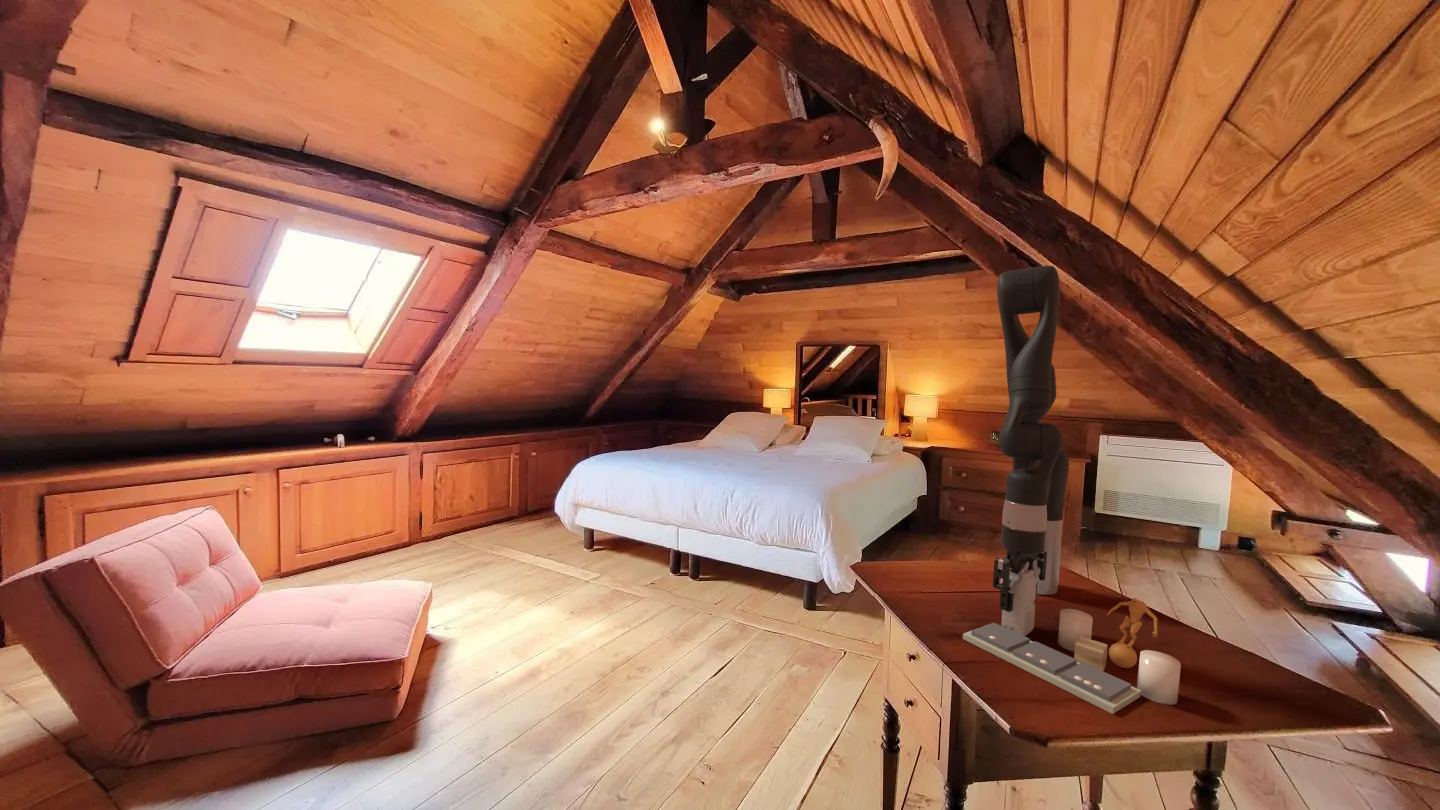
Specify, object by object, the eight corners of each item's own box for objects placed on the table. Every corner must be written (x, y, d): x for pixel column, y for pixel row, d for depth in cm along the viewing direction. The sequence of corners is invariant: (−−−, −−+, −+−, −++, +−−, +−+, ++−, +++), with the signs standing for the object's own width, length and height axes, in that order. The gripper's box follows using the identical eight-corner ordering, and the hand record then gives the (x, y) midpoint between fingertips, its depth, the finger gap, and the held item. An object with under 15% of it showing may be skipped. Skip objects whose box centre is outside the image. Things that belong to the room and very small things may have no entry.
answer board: (991, 628, 107) (992, 619, 106) (1140, 696, 85) (1141, 685, 85) (962, 638, 102) (963, 629, 102) (1112, 714, 81) (1113, 702, 80)
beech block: (1078, 657, 97) (1080, 636, 96) (1105, 667, 94) (1107, 644, 93) (1073, 666, 94) (1075, 644, 93) (1101, 675, 91) (1103, 653, 91)
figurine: (1090, 655, 97) (1095, 590, 96) (1115, 651, 99) (1120, 587, 98) (1138, 681, 89) (1144, 611, 88) (1164, 676, 91) (1170, 607, 90)
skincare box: (1024, 638, 103) (1029, 576, 102) (999, 629, 106) (1003, 569, 105) (1034, 628, 107) (1039, 568, 106) (1010, 619, 110) (1014, 562, 110)
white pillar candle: (1145, 682, 89) (1148, 647, 89) (1183, 698, 85) (1186, 662, 84) (1131, 691, 87) (1134, 654, 86) (1169, 708, 82) (1172, 670, 82)
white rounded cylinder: (1066, 636, 104) (1069, 606, 103) (1095, 648, 100) (1098, 617, 99) (1052, 643, 101) (1055, 612, 101) (1081, 655, 97) (1084, 623, 97)
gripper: (1025, 515, 112) (1020, 592, 113) (983, 523, 105) (977, 605, 106) (1063, 525, 106) (1057, 606, 107) (1021, 534, 98) (1015, 621, 99)
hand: (1017, 606), depth 106 cm, fingers open, 7 cm apart
